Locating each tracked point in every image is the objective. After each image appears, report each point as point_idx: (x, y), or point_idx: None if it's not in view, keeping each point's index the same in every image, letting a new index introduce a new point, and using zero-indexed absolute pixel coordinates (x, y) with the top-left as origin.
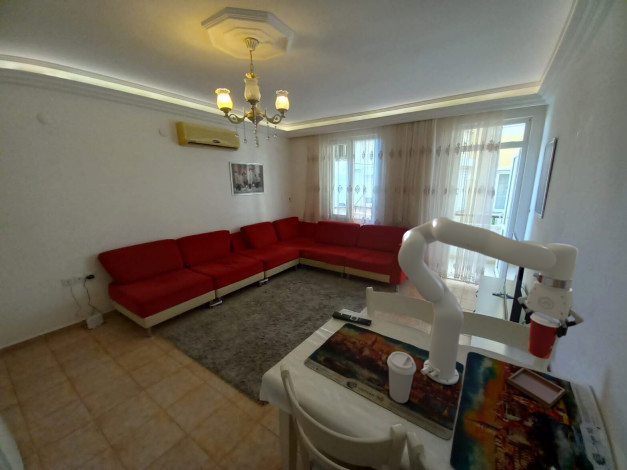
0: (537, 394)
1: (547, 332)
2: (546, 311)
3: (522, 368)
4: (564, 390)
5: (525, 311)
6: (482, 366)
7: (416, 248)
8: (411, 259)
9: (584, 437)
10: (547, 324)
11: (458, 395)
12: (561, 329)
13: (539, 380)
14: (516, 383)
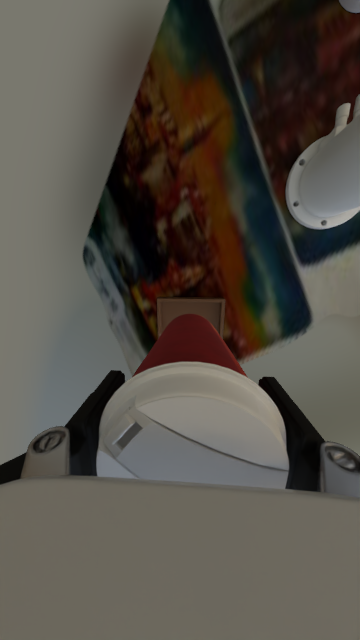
0: (180, 313)
1: (153, 356)
2: (153, 568)
3: None
4: None
5: (346, 457)
6: (272, 301)
7: None
8: None
9: (111, 282)
10: (146, 383)
11: (264, 157)
12: (82, 406)
13: None
14: (209, 299)
